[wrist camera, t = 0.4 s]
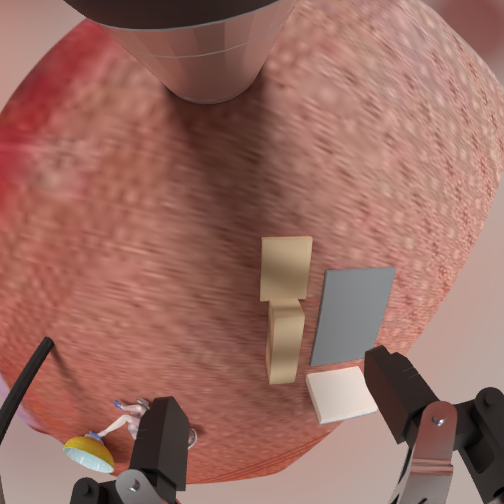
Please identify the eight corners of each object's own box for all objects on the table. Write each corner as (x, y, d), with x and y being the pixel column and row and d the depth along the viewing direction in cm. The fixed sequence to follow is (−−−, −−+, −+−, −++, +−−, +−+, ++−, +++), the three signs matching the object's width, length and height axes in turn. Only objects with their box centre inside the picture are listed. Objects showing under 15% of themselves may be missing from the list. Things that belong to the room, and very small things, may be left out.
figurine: (126, 364, 36) (211, 411, 38) (109, 397, 36) (186, 439, 38) (99, 409, 24) (208, 463, 27) (84, 440, 25) (179, 487, 27)
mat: (325, 270, 29) (327, 272, 28) (393, 266, 30) (395, 268, 29) (309, 363, 34) (310, 366, 34) (367, 354, 35) (369, 357, 35)
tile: (306, 373, 35) (321, 418, 28) (358, 366, 36) (378, 405, 29) (305, 381, 36) (319, 425, 28) (355, 373, 37) (374, 412, 29)
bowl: (60, 421, 38) (52, 443, 32) (102, 428, 38) (96, 453, 33) (86, 447, 42) (81, 467, 37) (127, 454, 43) (123, 476, 37)
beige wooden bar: (261, 236, 27) (267, 252, 23) (310, 236, 27) (323, 251, 24) (257, 362, 33) (261, 385, 30) (295, 359, 34) (302, 381, 30)
